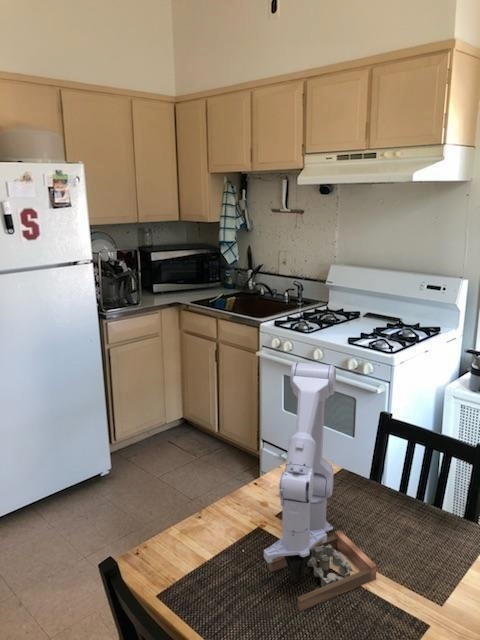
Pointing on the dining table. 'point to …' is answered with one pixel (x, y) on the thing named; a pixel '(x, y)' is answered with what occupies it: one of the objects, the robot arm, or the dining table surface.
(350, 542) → the channel
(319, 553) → the egg carton
